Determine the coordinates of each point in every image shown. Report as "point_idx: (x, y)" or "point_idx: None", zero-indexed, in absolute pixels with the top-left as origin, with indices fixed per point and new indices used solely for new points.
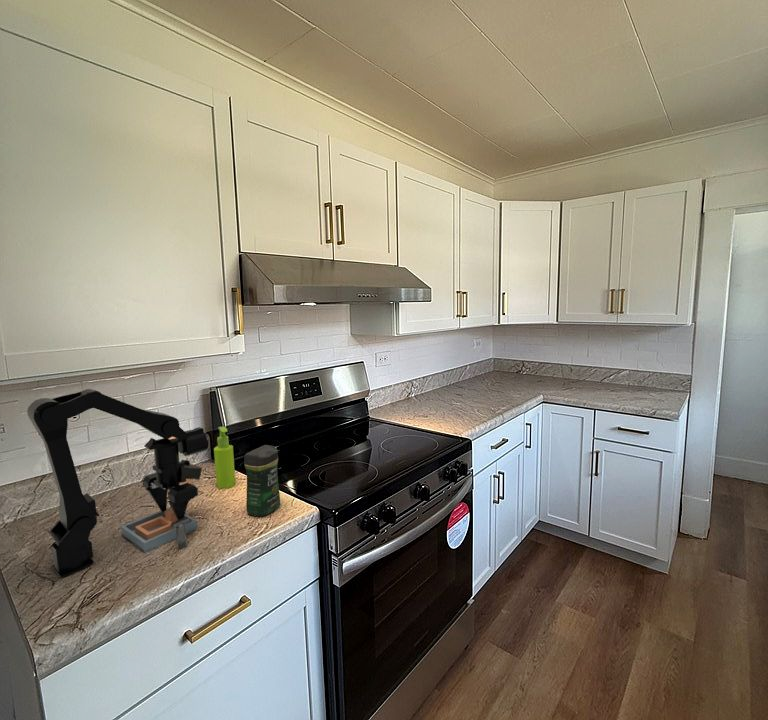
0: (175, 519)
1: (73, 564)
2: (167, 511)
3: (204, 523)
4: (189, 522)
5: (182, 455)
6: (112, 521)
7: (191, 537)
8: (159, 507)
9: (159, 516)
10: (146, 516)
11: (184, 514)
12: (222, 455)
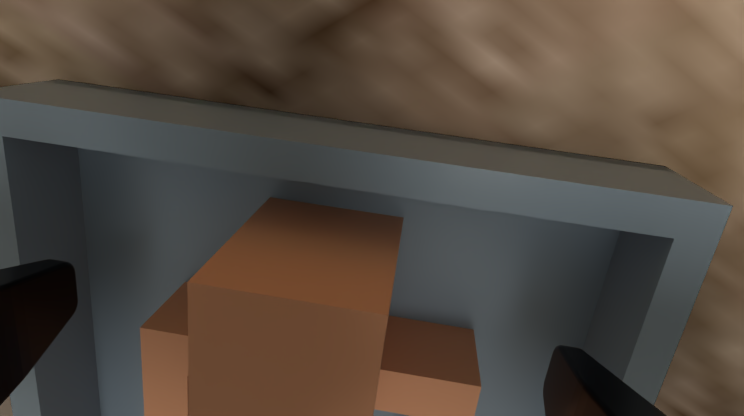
0: (388, 315)
1: None
2: (239, 409)
3: (644, 23)
4: (666, 297)
5: None
6: None
7: (740, 316)
8: (13, 390)
9: None
10: (12, 403)
11: (655, 411)
12: None
